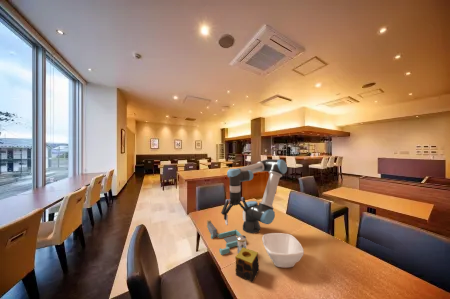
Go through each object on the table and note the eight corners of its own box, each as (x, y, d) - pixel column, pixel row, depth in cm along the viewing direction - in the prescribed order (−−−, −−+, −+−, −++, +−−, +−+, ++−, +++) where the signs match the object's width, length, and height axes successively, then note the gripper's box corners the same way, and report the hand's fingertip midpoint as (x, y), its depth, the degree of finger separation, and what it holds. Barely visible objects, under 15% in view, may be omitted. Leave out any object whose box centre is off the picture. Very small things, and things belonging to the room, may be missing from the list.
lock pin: (210, 227, 137) (210, 219, 137) (216, 236, 122) (216, 228, 122) (207, 228, 136) (206, 220, 136) (213, 237, 121) (212, 229, 121)
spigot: (247, 251, 104) (247, 236, 104) (245, 256, 98) (244, 240, 98) (239, 248, 106) (238, 234, 106) (236, 254, 101) (235, 238, 101)
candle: (252, 283, 78) (252, 263, 79) (235, 275, 84) (234, 256, 84) (259, 270, 87) (258, 252, 87) (243, 263, 92) (242, 246, 93)
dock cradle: (235, 231, 129) (234, 228, 129) (249, 246, 109) (249, 242, 109) (210, 237, 121) (210, 233, 121) (221, 255, 100) (221, 250, 100)
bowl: (260, 250, 104) (259, 232, 105) (293, 250, 104) (292, 232, 104) (268, 276, 82) (267, 254, 82) (310, 276, 82) (309, 254, 82)
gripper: (247, 188, 114) (248, 217, 114) (216, 192, 105) (216, 223, 104) (253, 190, 107) (254, 221, 107) (220, 194, 98) (220, 228, 97)
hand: (235, 222), depth 106 cm, fingers open, 13 cm apart
